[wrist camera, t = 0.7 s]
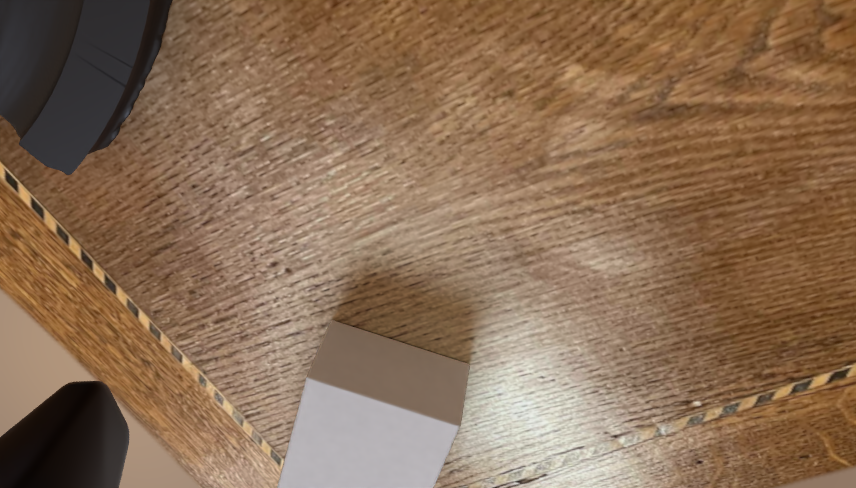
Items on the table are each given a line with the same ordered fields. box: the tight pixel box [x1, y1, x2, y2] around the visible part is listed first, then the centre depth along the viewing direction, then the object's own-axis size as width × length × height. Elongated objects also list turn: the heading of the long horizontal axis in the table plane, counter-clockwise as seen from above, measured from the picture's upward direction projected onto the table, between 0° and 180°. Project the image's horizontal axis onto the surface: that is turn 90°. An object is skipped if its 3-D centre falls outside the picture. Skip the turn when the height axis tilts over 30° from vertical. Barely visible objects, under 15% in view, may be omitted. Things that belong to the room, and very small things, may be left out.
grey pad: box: [277, 320, 470, 488], centre depth 27 cm, size 7×5×3 cm
